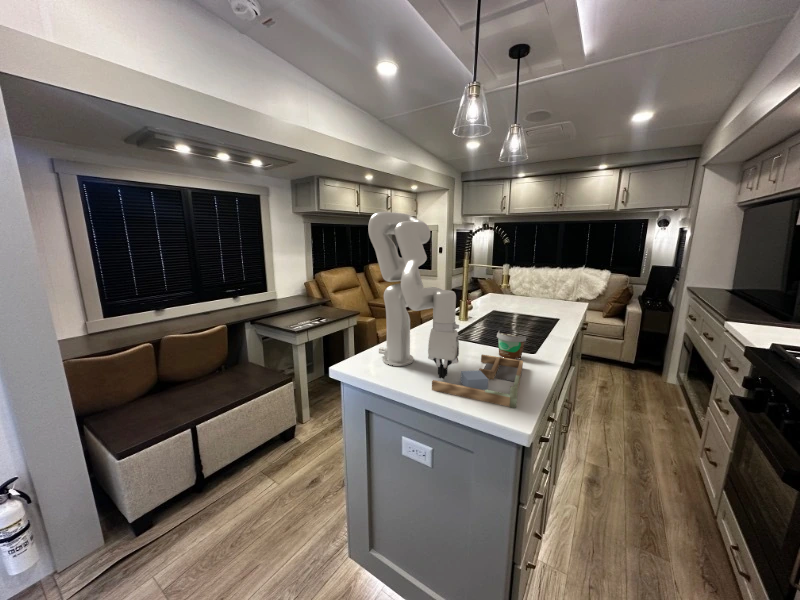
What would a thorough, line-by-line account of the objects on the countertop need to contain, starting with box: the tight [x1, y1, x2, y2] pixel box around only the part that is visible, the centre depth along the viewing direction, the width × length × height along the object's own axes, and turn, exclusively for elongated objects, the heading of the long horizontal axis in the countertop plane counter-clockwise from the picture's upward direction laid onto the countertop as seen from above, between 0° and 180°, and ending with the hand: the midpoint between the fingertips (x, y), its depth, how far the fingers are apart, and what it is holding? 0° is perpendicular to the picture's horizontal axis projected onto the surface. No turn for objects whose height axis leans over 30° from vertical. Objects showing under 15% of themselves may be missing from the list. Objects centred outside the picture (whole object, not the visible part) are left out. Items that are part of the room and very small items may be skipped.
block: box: [460, 369, 489, 390], centre depth 104 cm, size 7×7×4 cm
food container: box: [496, 330, 527, 360], centre depth 129 cm, size 12×6×10 cm, turn 47°
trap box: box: [431, 354, 524, 409], centre depth 109 cm, size 26×33×6 cm
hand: (442, 376), depth 108 cm, fingers closed
